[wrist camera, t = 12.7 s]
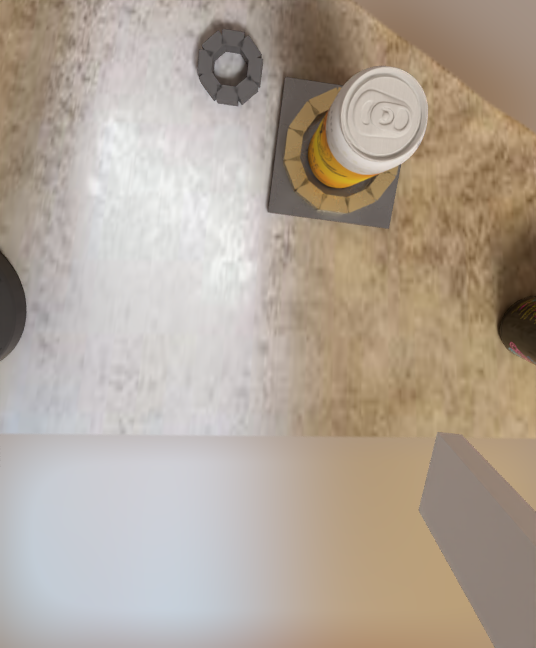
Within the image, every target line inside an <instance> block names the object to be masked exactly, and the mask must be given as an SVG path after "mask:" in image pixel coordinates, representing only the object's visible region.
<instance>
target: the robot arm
mask: <svg viewBox="0 0 536 648" xmlns="http://www.w3.org/2000/svg"><path fill="white" fill-rule="evenodd" d="M25 321H26V301H25V296H24V292H23V288H22V285H21V283H20V281H19V278H18V276H17V274H16V273H15V271H14V269H13V268H12V266H11V265H10V263H9V262H8V261H7V260H6V258H5V257H4V256H3V255H2V254H1V253H0V361H1V360H3V359H4V358H5V357H6V356H7V355H8V354H9V353H10V352H11V351H12V350H13V349H14V348H15V346H16V345H17V343H18V341H19V340H20V337H21V335H22V333H23V330H24V326H25ZM419 512H420V514H421V515H422V517H423V519H424V521H425V522H426V525H427V526H428V528H429V530H430V532H431V534H432V535H433V537H434V539H435V541H436V542H437V544H438V546H439V548H440V550H441V552H442V553H443V555H444V557H445V559H446V561H447V562H448V564H449V566H450V568H451V570H452V571H453V573H454V575H455V577H456V579H457V580H458V582H459V584H460V586H461V588H462V589H463V591H464V593H465V595H466V597H467V598H468V600H469V602H470V603H471V605H472V607H473V609H474V611H475V613H476V614H477V616H478V618H479V620H480V622H481V623H482V625H483V627H484V629H485V631H486V633H487V634H488V636H489V638H490V640H491V642H492V643H493V645H494V647H495V648H536V511H535V510H534V509H533V508H532V507H531V506H530V505H529V504H528V503H527V502H526V501H525V500H524V499H523V498H522V497H521V496H520V495H519V494H518V493H517V492H516V491H515V490H514V489H513V488H512V486H510V484H509V483H508V482H507V481H506V480H505V479H504V478H503V477H502V476H501V475H500V474H499V473H498V472H497V471H496V470H495V469H494V468H493V467H492V466H491V465H490V464H489V463H488V461H487V460H485V458H484V457H483V456H482V455H481V454H480V453H479V452H478V451H477V450H476V449H475V448H474V447H473V446H472V445H471V444H470V443H469V442H468V441H467V440H466V439H465V438H464V437H463V435H459V434H451V433H442V432H437V436H436V440H435V445H434V449H433V453H432V457H431V462H430V465H429V470H428V474H427V478H426V482H425V486H424V490H423V494H422V498H421V503H420V507H419Z"/></svg>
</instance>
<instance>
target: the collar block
mask: <svg viewBox="0 0 536 648" xmlns="http://www.w3.org/2000/svg"><path fill="white" fill-rule="evenodd" d="M342 87H343V86H342V85H335V84H329V83H322V82H316V81H309V80H302V79H296V78H289V77H285V82H284V90H283V98H282V106H281V114H280V122H279V130H278V138H277V146H276V154H275V162H274V169H273V177H272V185H271V193H270V201H269V209H268V213H276V214H283V215H291V216H298V217H305V218H313V219H320V220H328V221H335V222H342V223H350V224H357V225H365V226H372V227H379V228H388V229H389V225H390V220H391V214H392V209H393V204H394V199H395V193H396V188H397V183H398V178H399V172H400V167H401V164H400V165H398V166H396V167H394V168H392V169H389V170H387V171H385V172H382V173H380V174H378V175H375V176H373V177H371V178H368V179H366V180H364V181H361V182H359V183H357V184H354V185H352V186H350V187H346V188H333V187H330V186H327V185H325V184H323V183H322V182H321V181H319V180H318V179H317V178H316V176H315V175H314V174H313V172H312V170H311V168H310V165H309V160H308V149H309V144H310V141H311V139H312V137H313V135H314V133H315V132H316V130H317V128H318V126H319V125H320V123H321V121H322V120H323V118H324V116H325V115H326V113H327V111H328V110H329V108H330V106H331V104H332V103H333V101H334V99H335V98H336V96H337V94H338V93H339V91H340V90H341V88H342Z"/></svg>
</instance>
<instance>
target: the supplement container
mask: <svg viewBox="0 0 536 648" xmlns="http://www.w3.org/2000/svg"><path fill="white" fill-rule="evenodd" d="M500 335H501V339H502V342H503V344H504V345H505V347H506V348H507V349H508V350H509V351H510V352H511V353H513V354H515V355H516V356H518V357H520V358H522V359H524V360H526V361H528V362H530V363H532V364H534V365H536V296H533V297H528V298H524V299H522V300H520V301H518V302H516V303H515V304H513V305H512V306H511V307H510V308H509V309H508V310H507V312H506V313H505V315H504V316H503V319H502V321H501V325H500Z"/></svg>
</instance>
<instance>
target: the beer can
mask: <svg viewBox="0 0 536 648" xmlns="http://www.w3.org/2000/svg"><path fill="white" fill-rule="evenodd" d="M427 118H428V105H427V99H426V96H425V93H424V91H423V89H422V87H421V85H420V84H419V82H418V81H417V80H416V79H415V78H414V77H413V76H412V75H411V74H409V73H408V72H406V71H404V70H402V69H399V68H395V67H389V66H375V67H370V68H367V69H364V70H362V71H360V72H358V73H357V74H355V75H354V76H352V77H351V78H350V79H349V80H348V81H347V82H346V83H345V84H344V85H343V87H342V88H341V90H340V91H339V93H338V94H337V96H336V98H335V99H334V101H333V103H332V104H331V106H330V108H329V110H328V111H327V113H326V115H325V116H324V118H323V120H322V121H321V123H320V125H319V126H318V128H317V130H316V132H315V133H314V135H313V137H312V139H311V141H310V144H309V149H308V160H309V165H310V168H311V170H312V172H313V174H314V175H315V176H316V178H317V179H318V180H319V181H321V182H322V183H323V184H325V185H327V186H330V187H333V188H346V187H350V186H352V185H354V184H357V183H359V182H361V181H364V180H366V179H368V178H371V177H373V176H375V175H378V174H380V173H382V172H385V171H387V170H389V169H392V168H394V167H396V166H398V165H400V164H402V163H403V162H405V161H406V160H407V159H408V158H409V157H410V156H411V155H412V154H413V153H414V152H415V151H416V149H417V148H418V147H419V145H420V143H421V141H422V139H423V137H424V134H425V131H426V126H427Z"/></svg>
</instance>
